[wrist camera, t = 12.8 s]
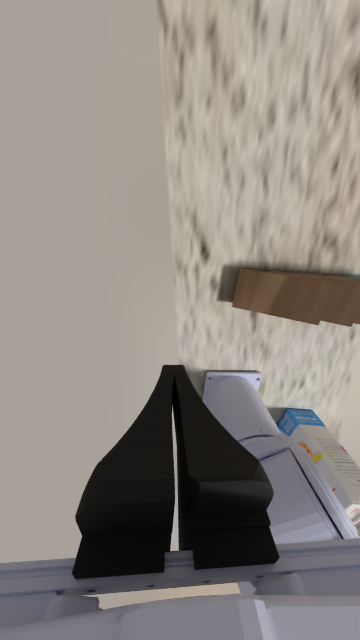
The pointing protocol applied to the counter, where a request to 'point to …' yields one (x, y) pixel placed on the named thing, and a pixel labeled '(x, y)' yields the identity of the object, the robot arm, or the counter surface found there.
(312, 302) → the domino
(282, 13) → the counter surface
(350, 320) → the domino
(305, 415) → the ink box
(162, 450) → the robot arm
